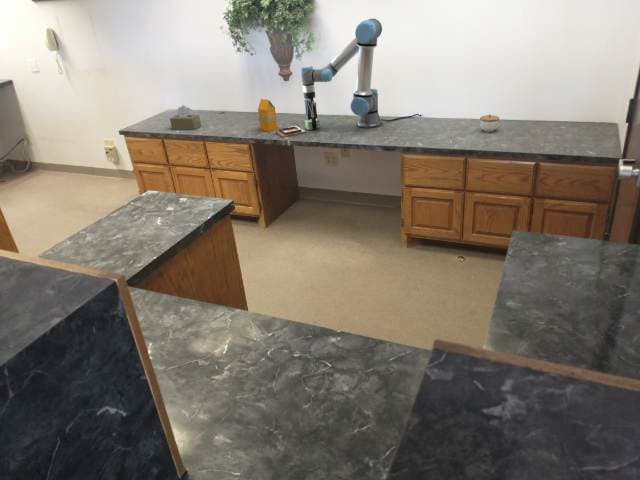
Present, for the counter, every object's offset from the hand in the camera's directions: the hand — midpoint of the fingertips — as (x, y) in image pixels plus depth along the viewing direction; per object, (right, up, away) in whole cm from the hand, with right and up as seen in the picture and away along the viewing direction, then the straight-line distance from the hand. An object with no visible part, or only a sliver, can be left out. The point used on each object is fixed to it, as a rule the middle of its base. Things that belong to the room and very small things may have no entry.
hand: (312, 127), depth 334 cm
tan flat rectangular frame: (-14, -4, -3) cm, 15 cm away
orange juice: (-29, 0, +8) cm, 30 cm away
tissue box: (-90, +6, +29) cm, 95 cm away
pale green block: (0, 0, 0) cm, 0 cm away
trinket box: (+105, -9, -32) cm, 110 cm away
